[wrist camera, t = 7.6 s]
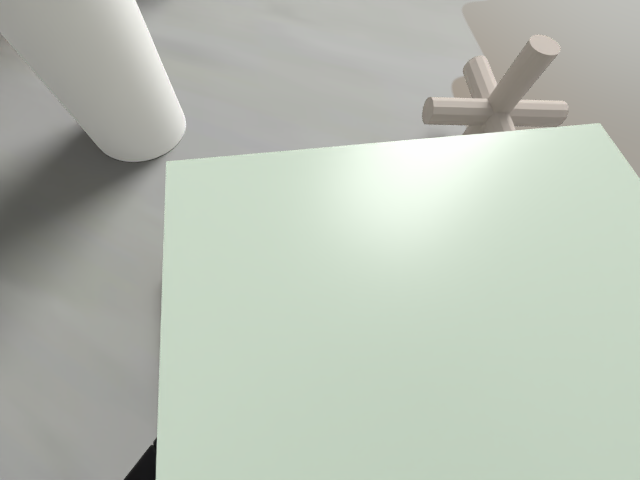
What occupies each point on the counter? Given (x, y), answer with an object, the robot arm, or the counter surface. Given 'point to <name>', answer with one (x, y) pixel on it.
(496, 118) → the beige crossed rods
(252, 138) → the counter surface
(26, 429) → the counter surface
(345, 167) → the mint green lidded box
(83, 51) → the cylindrical container
